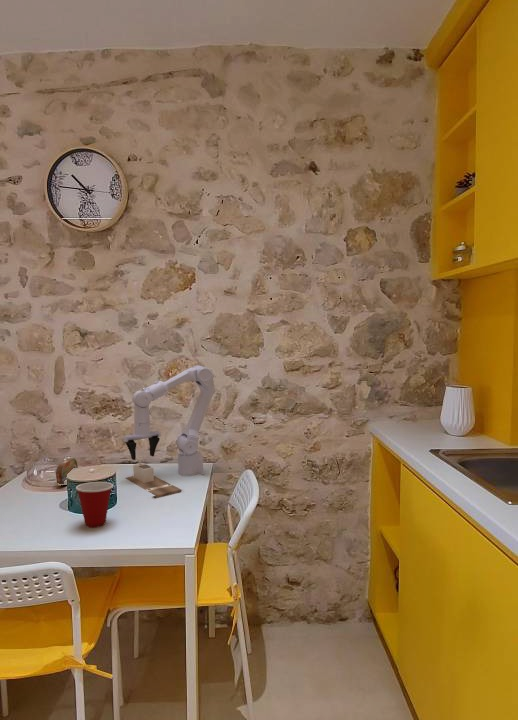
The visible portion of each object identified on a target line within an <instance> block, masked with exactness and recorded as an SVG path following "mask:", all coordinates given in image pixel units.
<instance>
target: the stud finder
mask: <svg viewBox="0 0 518 720" xmlns="http://www.w3.org/2000/svg"><path fill="white" fill-rule="evenodd" d="M132 467H133V469H132V470H133V471H132V472H133V476H134V478H136V479H138V480H140V481H141V482H143V483H146V482H150V481H154V476H155V475H154V467H152V466H150V465H148V464H146V463H144V462H140V463H136V464H135V463H134V464H133V466H132Z"/></svg>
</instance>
